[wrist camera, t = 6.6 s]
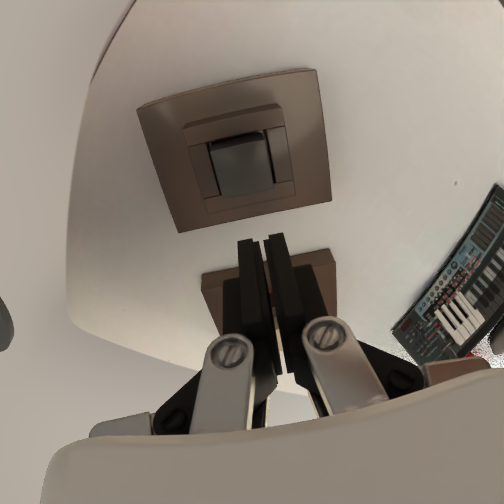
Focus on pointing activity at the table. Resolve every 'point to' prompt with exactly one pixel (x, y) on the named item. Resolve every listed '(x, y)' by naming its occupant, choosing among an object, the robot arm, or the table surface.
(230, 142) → the key ebony
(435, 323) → the synthesizer keyboard
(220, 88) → the key block
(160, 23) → the table surface
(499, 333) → the desk fan
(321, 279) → the key block
